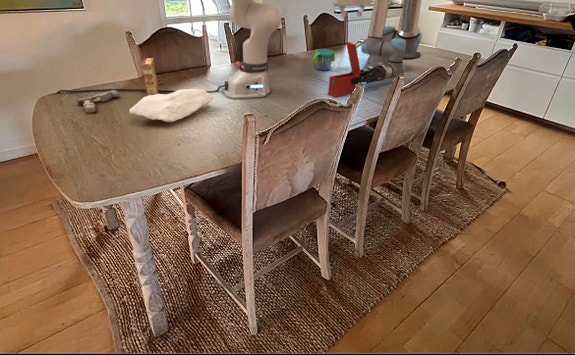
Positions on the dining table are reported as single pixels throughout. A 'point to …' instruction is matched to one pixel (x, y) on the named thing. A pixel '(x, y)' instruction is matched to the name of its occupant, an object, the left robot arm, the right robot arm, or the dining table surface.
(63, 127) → the dining table surface
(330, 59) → the snack cup
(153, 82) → the candy box
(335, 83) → the chest
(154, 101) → the crumpled cloth
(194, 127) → the dining table surface
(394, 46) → the right robot arm
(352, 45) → the lid
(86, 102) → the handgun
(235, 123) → the dining table surface
